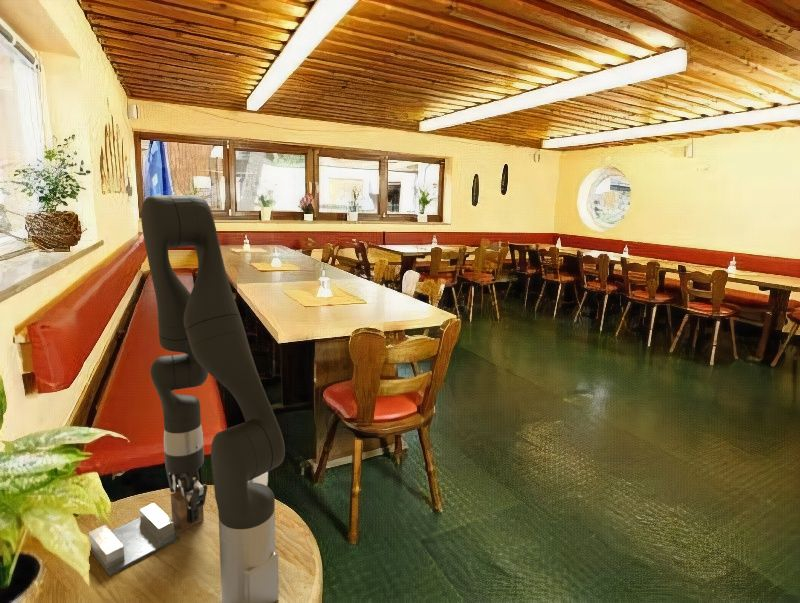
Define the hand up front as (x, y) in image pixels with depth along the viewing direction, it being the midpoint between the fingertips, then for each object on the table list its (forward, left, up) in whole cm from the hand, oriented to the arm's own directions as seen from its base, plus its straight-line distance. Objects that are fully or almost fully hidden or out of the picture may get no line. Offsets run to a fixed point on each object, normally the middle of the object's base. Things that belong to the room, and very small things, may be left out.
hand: (187, 516), depth 102 cm
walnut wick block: (0, 0, -1) cm, 1 cm away
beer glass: (-10, -10, -1) cm, 14 cm away
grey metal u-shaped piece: (+2, +10, -1) cm, 11 cm away
